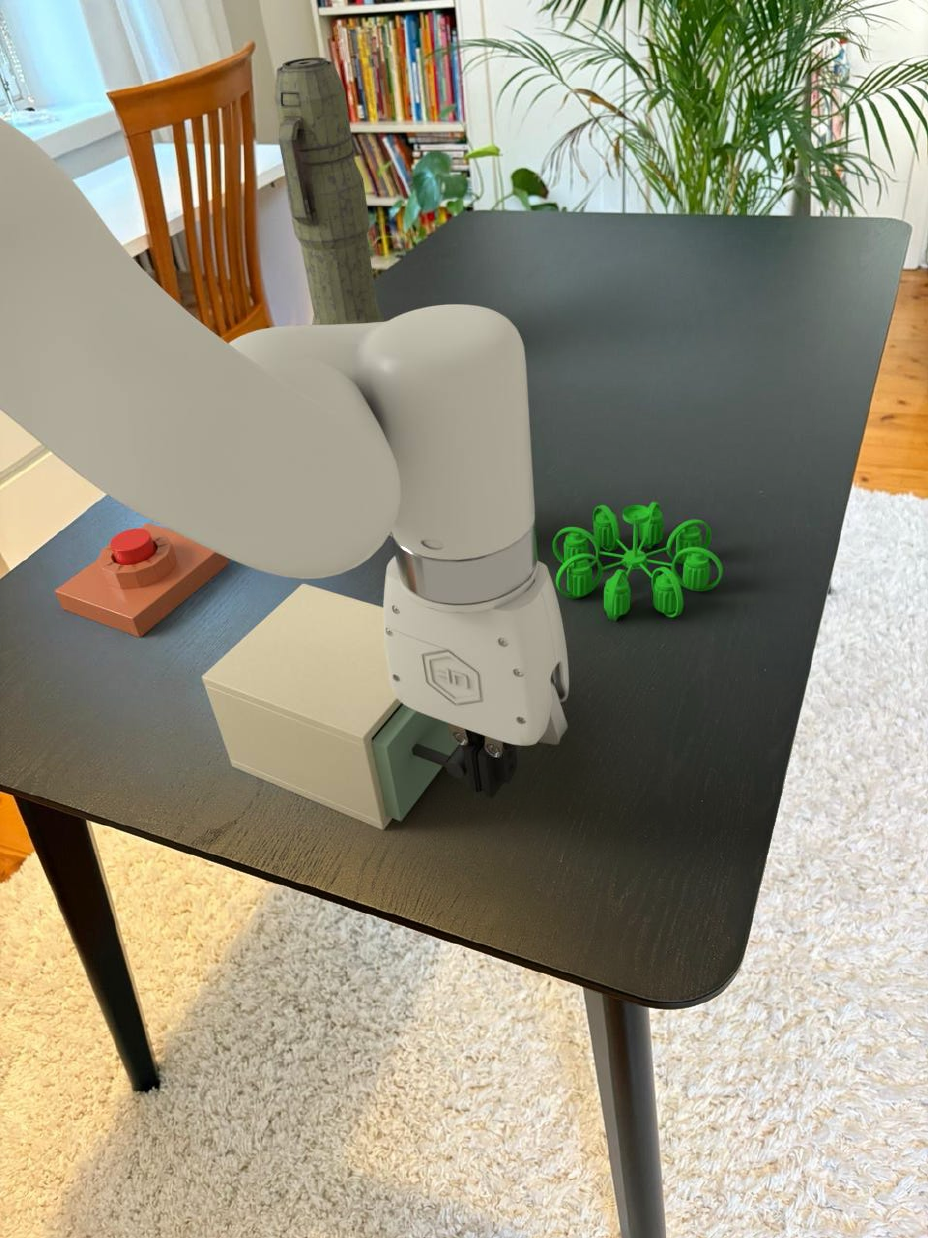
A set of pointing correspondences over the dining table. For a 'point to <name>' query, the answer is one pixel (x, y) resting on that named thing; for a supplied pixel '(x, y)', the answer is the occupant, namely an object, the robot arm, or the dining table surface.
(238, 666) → the small storage cabinet
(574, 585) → the chandelier
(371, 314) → the grey tall cylindrical piece
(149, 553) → the button
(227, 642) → the dining table surface
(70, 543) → the dining table surface
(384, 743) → the drawer
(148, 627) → the control block
